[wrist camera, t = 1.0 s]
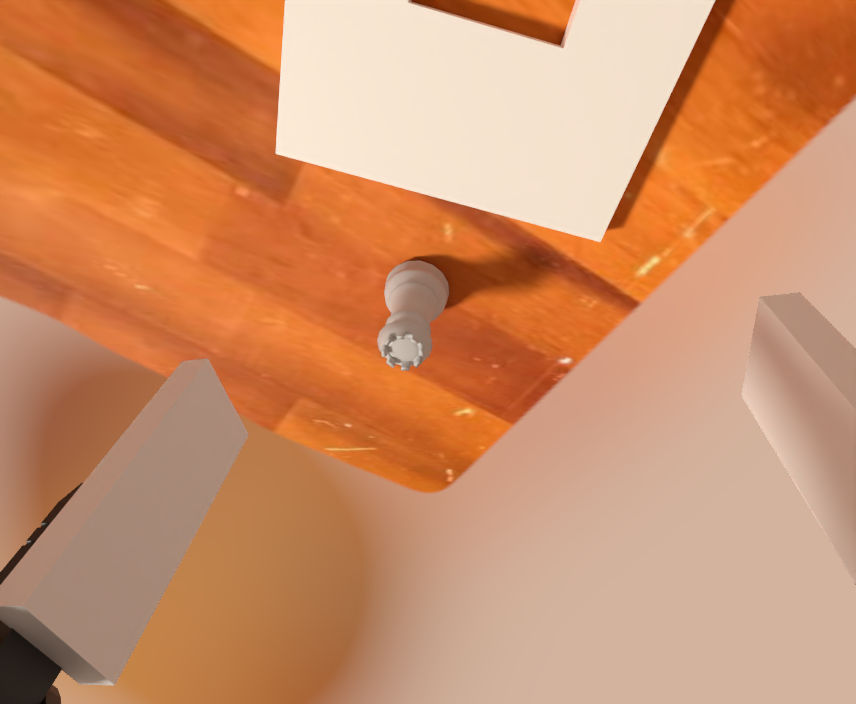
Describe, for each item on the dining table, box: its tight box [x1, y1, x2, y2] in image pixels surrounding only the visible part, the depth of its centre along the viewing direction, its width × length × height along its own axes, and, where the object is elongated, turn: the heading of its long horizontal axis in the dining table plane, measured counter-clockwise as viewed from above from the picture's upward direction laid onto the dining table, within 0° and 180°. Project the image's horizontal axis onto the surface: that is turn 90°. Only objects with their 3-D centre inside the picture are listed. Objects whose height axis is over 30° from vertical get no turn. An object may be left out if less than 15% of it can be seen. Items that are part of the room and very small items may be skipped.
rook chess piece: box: [377, 261, 449, 370], centre depth 33 cm, size 4×4×8 cm
